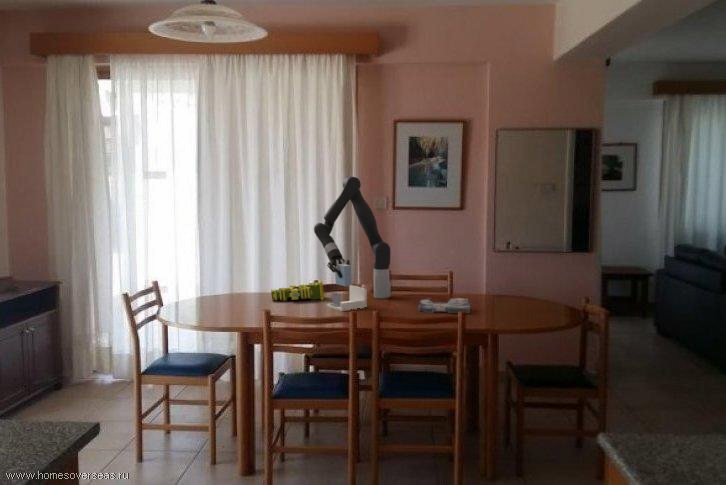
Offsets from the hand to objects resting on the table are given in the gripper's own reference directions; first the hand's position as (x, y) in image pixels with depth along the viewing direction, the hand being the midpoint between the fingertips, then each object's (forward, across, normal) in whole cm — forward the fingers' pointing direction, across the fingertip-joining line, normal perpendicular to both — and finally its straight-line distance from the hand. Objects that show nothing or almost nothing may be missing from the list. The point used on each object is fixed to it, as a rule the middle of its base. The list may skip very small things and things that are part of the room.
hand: (345, 276), depth 336 cm
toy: (-13, -11, +38) cm, 42 cm away
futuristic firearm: (+37, +41, -10) cm, 57 cm away
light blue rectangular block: (+2, 0, +5) cm, 5 cm away
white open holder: (+11, +2, +14) cm, 18 cm away
